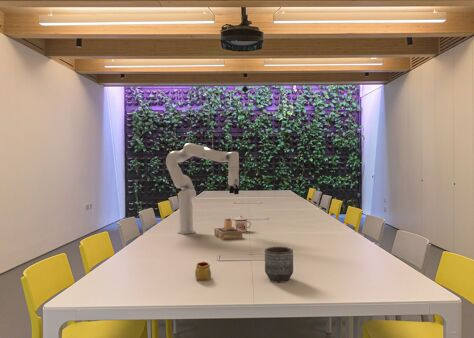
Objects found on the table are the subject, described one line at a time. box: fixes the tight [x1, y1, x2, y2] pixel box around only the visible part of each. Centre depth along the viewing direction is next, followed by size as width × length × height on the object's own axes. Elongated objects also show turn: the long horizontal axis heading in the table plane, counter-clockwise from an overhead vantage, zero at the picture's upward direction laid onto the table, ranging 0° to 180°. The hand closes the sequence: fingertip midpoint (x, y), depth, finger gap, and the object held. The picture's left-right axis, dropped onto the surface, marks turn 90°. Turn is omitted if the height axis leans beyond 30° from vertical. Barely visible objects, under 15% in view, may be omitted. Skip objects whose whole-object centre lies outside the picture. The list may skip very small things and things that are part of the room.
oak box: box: [213, 226, 243, 241], centre depth 266 cm, size 17×14×6 cm
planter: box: [264, 246, 294, 283], centre depth 169 cm, size 12×12×13 cm
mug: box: [194, 261, 212, 281], centre depth 174 cm, size 12×7×7 cm, turn 177°
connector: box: [223, 218, 233, 230], centre depth 266 cm, size 4×4×11 cm
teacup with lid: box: [234, 214, 252, 233], centre depth 286 cm, size 12×9×12 cm
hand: (234, 193), depth 276 cm, fingers open, 9 cm apart
